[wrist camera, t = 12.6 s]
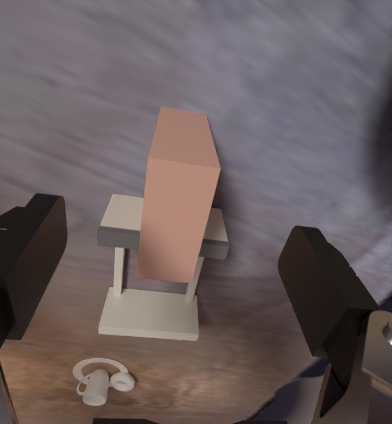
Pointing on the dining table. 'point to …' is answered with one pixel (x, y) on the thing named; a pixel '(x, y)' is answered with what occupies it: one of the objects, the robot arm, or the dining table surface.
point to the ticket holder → (150, 300)
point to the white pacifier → (102, 381)
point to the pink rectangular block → (177, 196)
